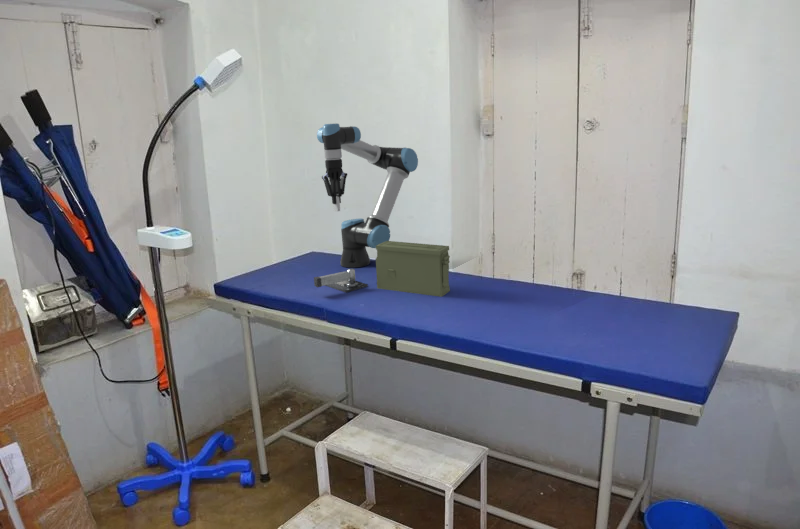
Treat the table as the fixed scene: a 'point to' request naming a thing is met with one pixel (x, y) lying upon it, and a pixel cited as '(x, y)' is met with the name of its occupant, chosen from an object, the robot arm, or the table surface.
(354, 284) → the plate
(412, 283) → the ammunition box
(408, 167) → the robot arm
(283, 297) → the table surface
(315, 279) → the grey long bar
